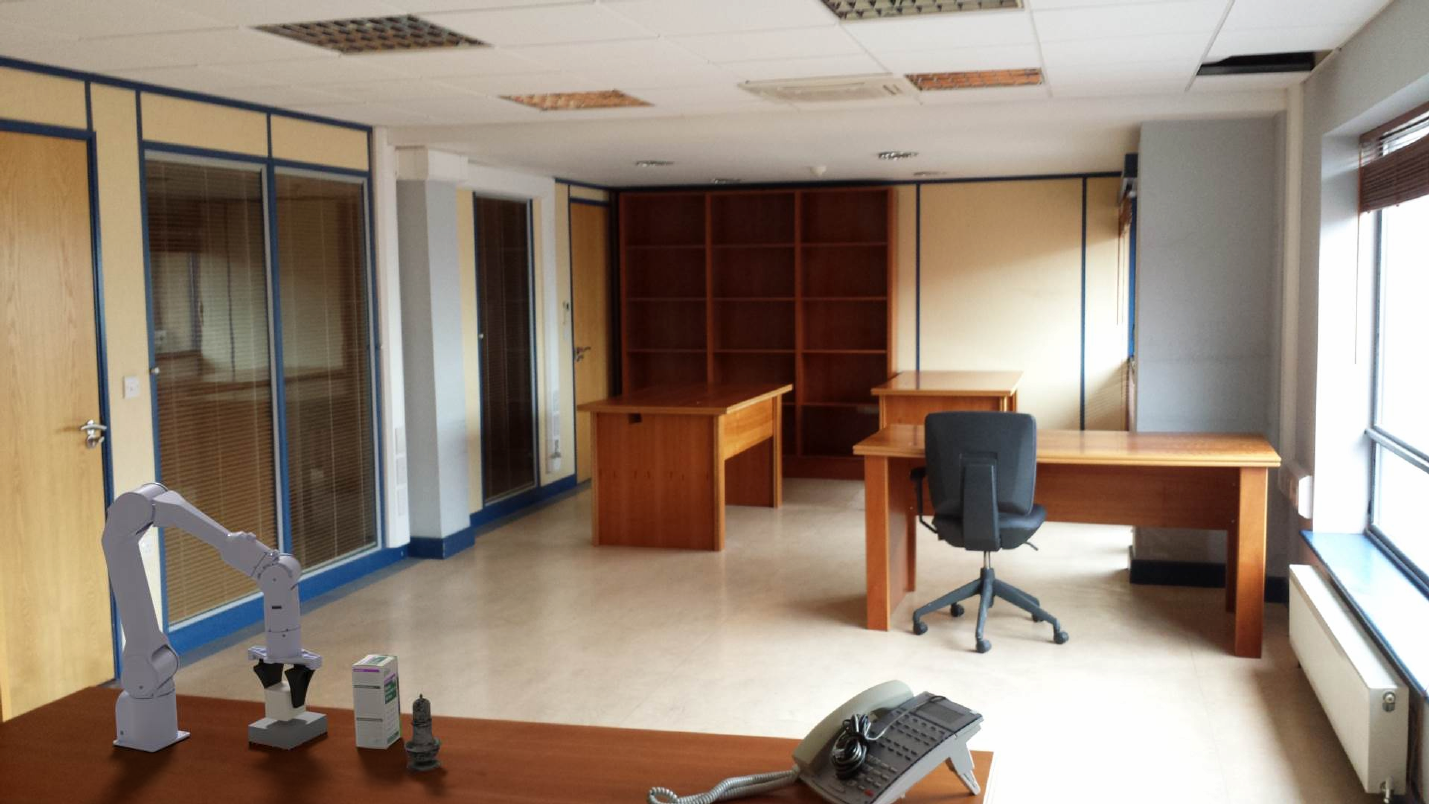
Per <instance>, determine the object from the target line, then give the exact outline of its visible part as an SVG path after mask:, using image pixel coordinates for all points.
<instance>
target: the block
mask: <svg viewBox="0 0 1429 804" xmlns="http://www.w3.org/2000/svg"><path fill="white" fill-rule="evenodd" d="M327 718H328V717H327V714H324V713H319V712H313V711H308V710H306V712H305V713H303V714H300V715H298V716H296V717H294V718H292V719H290V720H288V721H282V720H277V719H271V718H266V716H265V717H263V718H261V719H259V720H256V721H255V722H253V723H250V724H248V725H247V732H248V742H249V741H253V742H257V743H266V744H269V745H272V746H278V747H281V748H288V749H291V748H294V747H295V746H297V745H299V744H300V743H303V742H305V741H307V740H309V739H311V738H313V737H315V738H317V737H319V736H320V734H321V735H323V734H324V733H326V731H327V732H328V723H327V722H328V719H327ZM318 735H319V736H318ZM316 736H317V737H316ZM313 739H314V738H313ZM311 740H312V739H311ZM309 741H310V740H309ZM307 742H308V741H307ZM294 749H295V748H294Z"/></svg>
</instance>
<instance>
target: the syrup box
mask: <svg viewBox="0 0 1429 804" xmlns="http://www.w3.org/2000/svg"><path fill="white" fill-rule="evenodd" d="M398 660H399V659H398V656H397V655H392V654H384V653H382V654H379V653H377V654H376V653H375V654H367V655H366V656H365V657H364V658H362V659H360V660H358V661H357V662H356V663H354V664H352V665H351V666H350V667H351V684H352V696H353V697H352V699H353V715H354V728H355V729H354V731H355V746H356V747H358V748H365V749H374V750H375V749H379V750H388V748H389V747H390V746H391V745H393V744H394V743H395V742H397V740H399V739H400V738H401V737H402V736H403V732H402V731H403V730H402V715H401V714H402V713H401V711H402V710H401V696H400V695H401V694H400V680H399V679H400V677H399V663H398V662H399V661H398Z"/></svg>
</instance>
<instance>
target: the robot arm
mask: <svg viewBox="0 0 1429 804" xmlns="http://www.w3.org/2000/svg"><path fill="white" fill-rule="evenodd" d="M107 513H108V515H107V519H106V523H105V525H104V529H103V531H102V535H101V539H100V541H101V542H100V543H101V547H102V551H103V555H104V558H105V563H106V567H107V572H108V575H109V579H110V583H111V587H112V591H113V595H114V599H115V603H116V607H117V611H118V616H119V618H120V623H121V624H120V625H121V627H122V630H123V632H122V633H123V636H124V639H125V642H124V643H125V644H124V648H123V650H122V653H121V658H120V659H121V663H122V671H121V675H120V683H121V686H122V688H123V690H122V692H121V693H120V694H119V695H118V697H117V698H116V699H117V700H116V702H115V703H116V704H115V708H114V709H115V723H116V724H115V725H116V737H117V738H116V740H113V741H112V742H113V743H112V744H113V745H114V746H120V747H125V748H131V749H136V750H138V751H139V750H140V751H146V752H149V753H154V752H157V751H159V750H161V749H164V748H165V747H168V746H170V745H172V744H174V743H177V742H179V741H181V740H183V739H186V738H188V737H189V736H190V735H191V733H190V732H188V731H181V730H178V729H179V728H178V714H177V697H176V684H175V681H174V676H175V675H176V674H177V672H178V671H179V667H180V664H181V662H180V657H179V655H178V653H177V651H176V650H175V649H174V648H173V647H172V645H171V643H170V640H169V637H168V636H167V635H166V634H165V633H164V632H162V631H161V630H160V625H159V622H158V619H157V614H156V611H155V606H154V601H153V598H152V593H151V590H150V585H149V581H148V576H147V572H146V569H145V565H144V561H143V557H142V553H141V550H140V545H139V544H140V543H139V542H140V541H141V540H142V538H143V537H144V535H145V534H146V533H147V532H148V531H149V529H150V528H151V527H152V528H165V527H177V528H178V529H181V530H183V531H184V532H186V533H188V534H190V535H192V536H194V537H196V538H197V539H199V540H201V541H203V542H205V543H206V544H209V545H210V546H212V547H214V548H215V549H217V550H218V551H219V555H220V558H221V560H222V562H225V563H226V564H228V565H229V566H231V567H232V568H234V569H236V570H238V571H239V572H240V573H242V574H244V575H246V576H247V577H249V578H251V579H252V580H253V581H256V584H257V587H258V588H259V590H260V591H261V592H262V594H263V614H264V615H263V616H264V633H265V634H264V635H265V646H259V645H255V646H252V647H250V648H248V649H247V660H248V661H255V660H258V662H257V664H255V665H253V667H252V669H253V672H254V674H256V676H257V678H258V679H259V681H260V682H261V684H262V686H263V690H264V689H266V688H268V687H270V686H273V685H275V684H277V683H279V682H281V681H283V673H284V676H285V678H286V681H288V683H289V686H290V691H291V701H292V706H293V708H299V707H301V706H303V705H304V703H306V697H307V693H308V689H309V686H310V683H311V680H312V679H313V678H312V677H313V676H314V674H315V672H316V671H317V669H320V668H322V667H323V659H322V658H323V657H322V655H320V654H316V653H313V652H312V651H309V650H306V649H304V648H302V647H303V646H302V645H303V644H302V629H301V624H302V623H301V609H300V596H299V584H297V583H298V582H299V581H300V579H301V578H302V577H301V576H302V575H303V574H302V573H303V570H302V564H301V563H300V561H299V560H298V559H297V558H295V556H294V555H293V554H291V553H281V551H280V550H279V549H277V548H275V549H272V548H270V547H269V546H267V545H266V544H264V543H262V542H261V541H259V540H257V539H256V538H257V535H256V534H254V533H253V532H251V531H250V532H248V533H247V532H245V531H242V530H241V531H237V532H231V531H230V530H228V529H227V528H226V527H224V526H222V525H221V524H220V523H218V522H217V521H215V520H214V519H213V518H211V517H209V516H208V515H207V514H205V513H204V512H203V511H201V510H200V509H198V508H197V507H195V506H194V505H192V504H191V503H190V502H188V501H187V500H185V499H184V497H182V495H180V493H179V492H176V491H174V490H172V489H171V490H169V488H168V487H166V486H165V485H163V484H162V483H160V482H148V483H145V484H142V485H141V486H140V487H137V488H135V489H132V490H130V491H127V492H126V491H125V492H124V493H121V494H120V495H119V496H117V497H116V499H115V500H114V501H113V502H112V503H111V504H110V506H109V507H107ZM285 665H288V666H289V665H291V666H293V667H291V668H288V669H286V670H284V666H285Z"/></svg>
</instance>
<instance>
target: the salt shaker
mask: <svg viewBox="0 0 1429 804" xmlns="http://www.w3.org/2000/svg"><path fill="white" fill-rule="evenodd" d="M411 708H412V719H411V720H410V725H412V737H411V739H410V740H408V741H406V742H405V743H404V745H403V747H404V749H405V750H406V755H407V756H408V758H409V759H411V761H409V762H408V763H407V765H406V769H407V770H409V771H411V772H415V773H424V772H429V771H433V770H435V769H437V768H439V767H440V765H441V761H440V760H439V759H438V758H437V755H438V754H439V751H440V749H441V748H440V747H441V745H442V740H441V739H440V738H437V737H435V736H434V734H433V728H432V726H433V725H432V723H433V722H434V718H432V714H431V712H432V711H431V701H430V700H429V699H427V698H425V697H424V695H423V694H422V693H420V694H419V696H418V698H417V699H415V700H414V701H413V702H412V707H411Z"/></svg>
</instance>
